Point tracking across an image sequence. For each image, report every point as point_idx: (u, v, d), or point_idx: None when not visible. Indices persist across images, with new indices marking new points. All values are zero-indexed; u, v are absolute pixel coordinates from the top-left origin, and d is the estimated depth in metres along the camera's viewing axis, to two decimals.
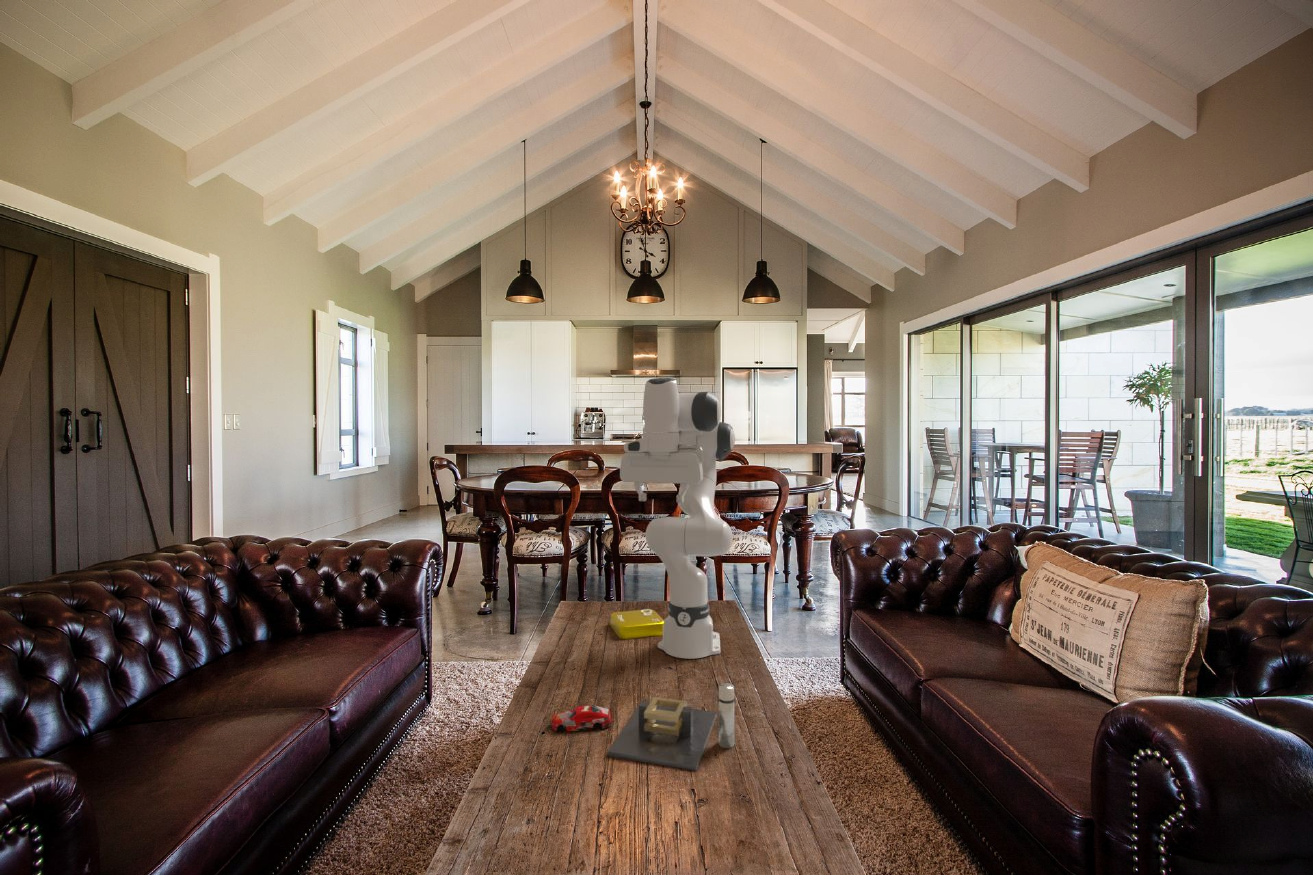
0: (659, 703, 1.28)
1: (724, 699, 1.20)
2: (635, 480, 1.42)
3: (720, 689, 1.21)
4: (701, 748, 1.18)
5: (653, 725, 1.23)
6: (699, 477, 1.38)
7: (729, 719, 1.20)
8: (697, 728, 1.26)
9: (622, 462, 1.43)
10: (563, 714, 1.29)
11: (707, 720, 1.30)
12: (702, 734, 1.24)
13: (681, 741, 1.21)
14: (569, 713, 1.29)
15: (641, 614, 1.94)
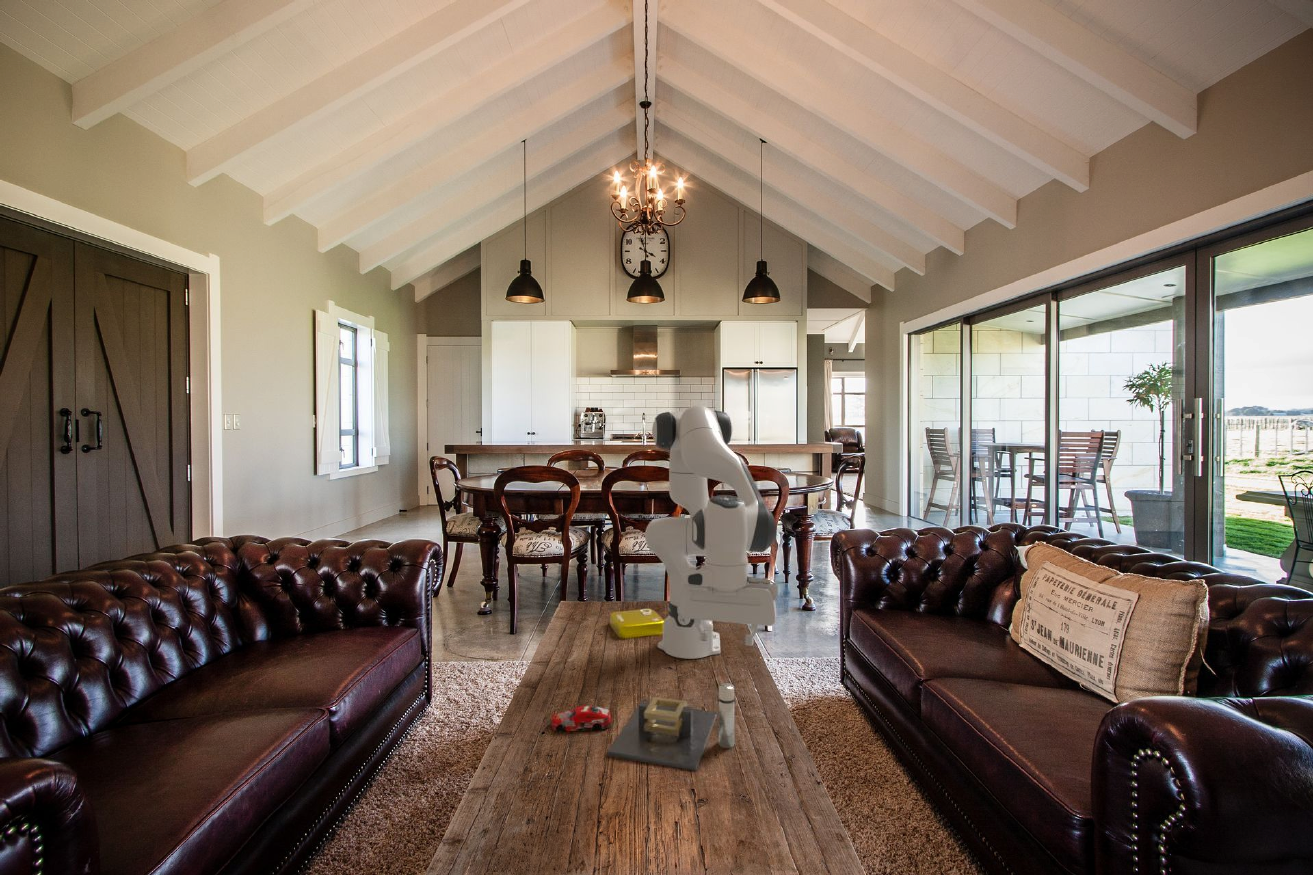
0: (659, 703, 1.28)
1: (724, 699, 1.20)
2: (696, 617, 1.21)
3: (720, 689, 1.21)
4: (701, 748, 1.18)
5: (653, 725, 1.23)
6: (774, 618, 1.17)
7: (729, 719, 1.20)
8: (697, 728, 1.26)
9: (680, 596, 1.22)
10: (563, 714, 1.30)
11: (707, 720, 1.30)
12: (702, 734, 1.24)
13: (681, 741, 1.21)
14: (569, 713, 1.29)
15: (640, 614, 1.94)
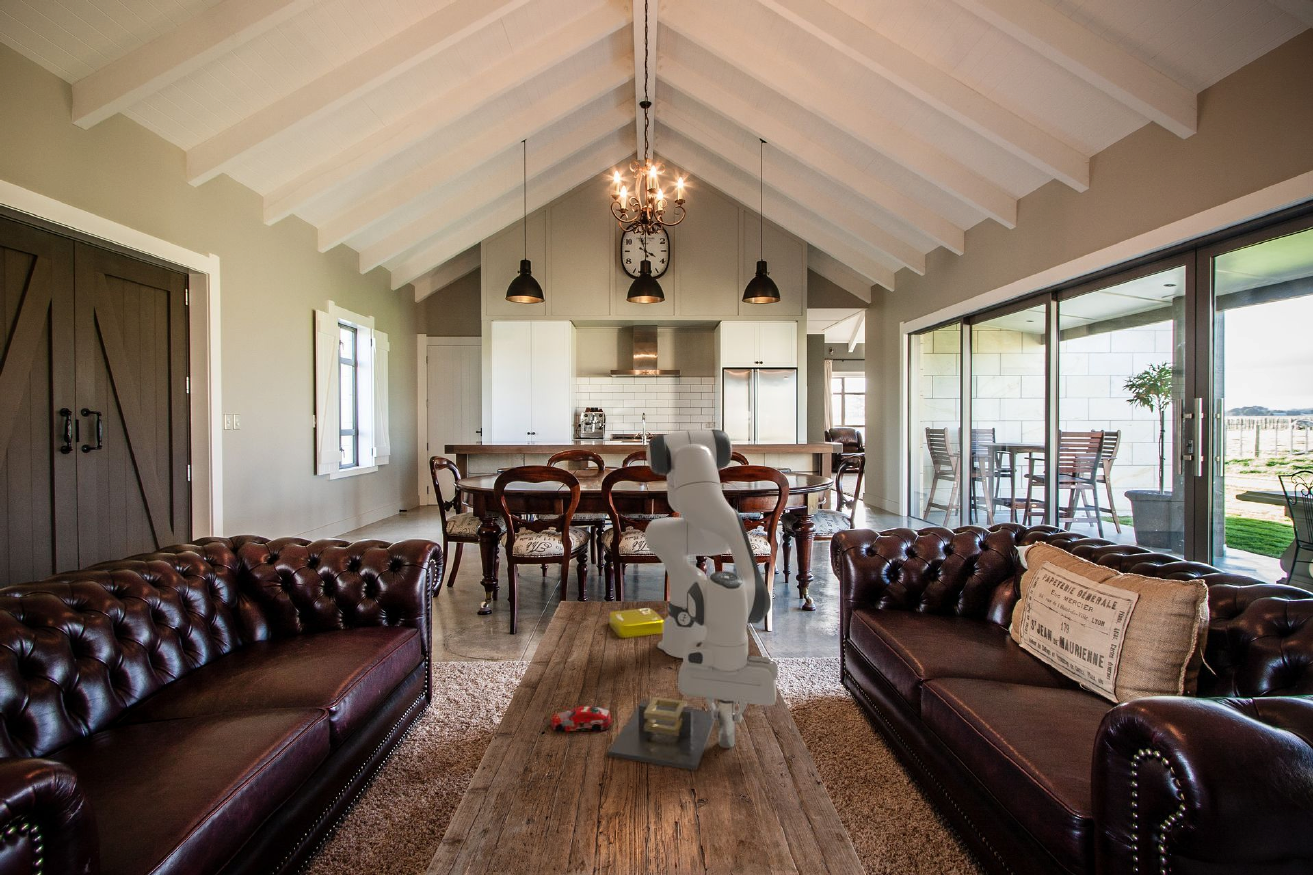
0: (659, 703, 1.28)
1: None
2: (696, 695, 1.22)
3: None
4: (701, 748, 1.18)
5: (653, 725, 1.23)
6: (774, 699, 1.17)
7: (729, 719, 1.20)
8: (697, 728, 1.26)
9: (681, 673, 1.22)
10: (563, 713, 1.30)
11: (707, 720, 1.30)
12: (702, 734, 1.24)
13: (681, 741, 1.21)
14: (569, 713, 1.29)
15: (640, 613, 1.95)
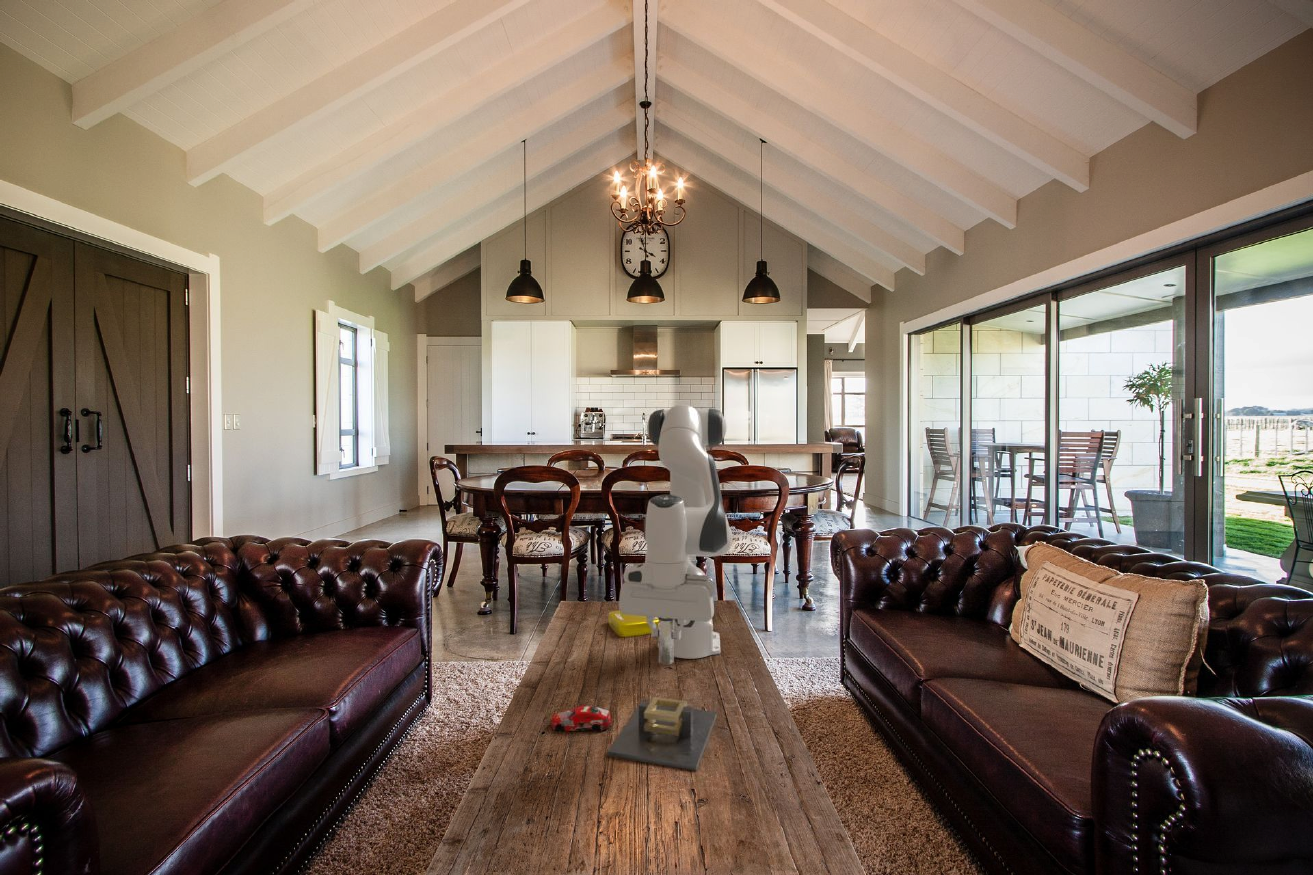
0: (659, 703, 1.28)
1: None
2: (636, 613, 1.25)
3: None
4: (701, 748, 1.18)
5: (653, 725, 1.23)
6: (710, 614, 1.21)
7: (668, 636, 1.23)
8: (697, 728, 1.26)
9: (622, 593, 1.25)
10: (563, 713, 1.30)
11: (707, 720, 1.30)
12: (702, 734, 1.24)
13: (681, 741, 1.21)
14: (569, 713, 1.30)
15: None
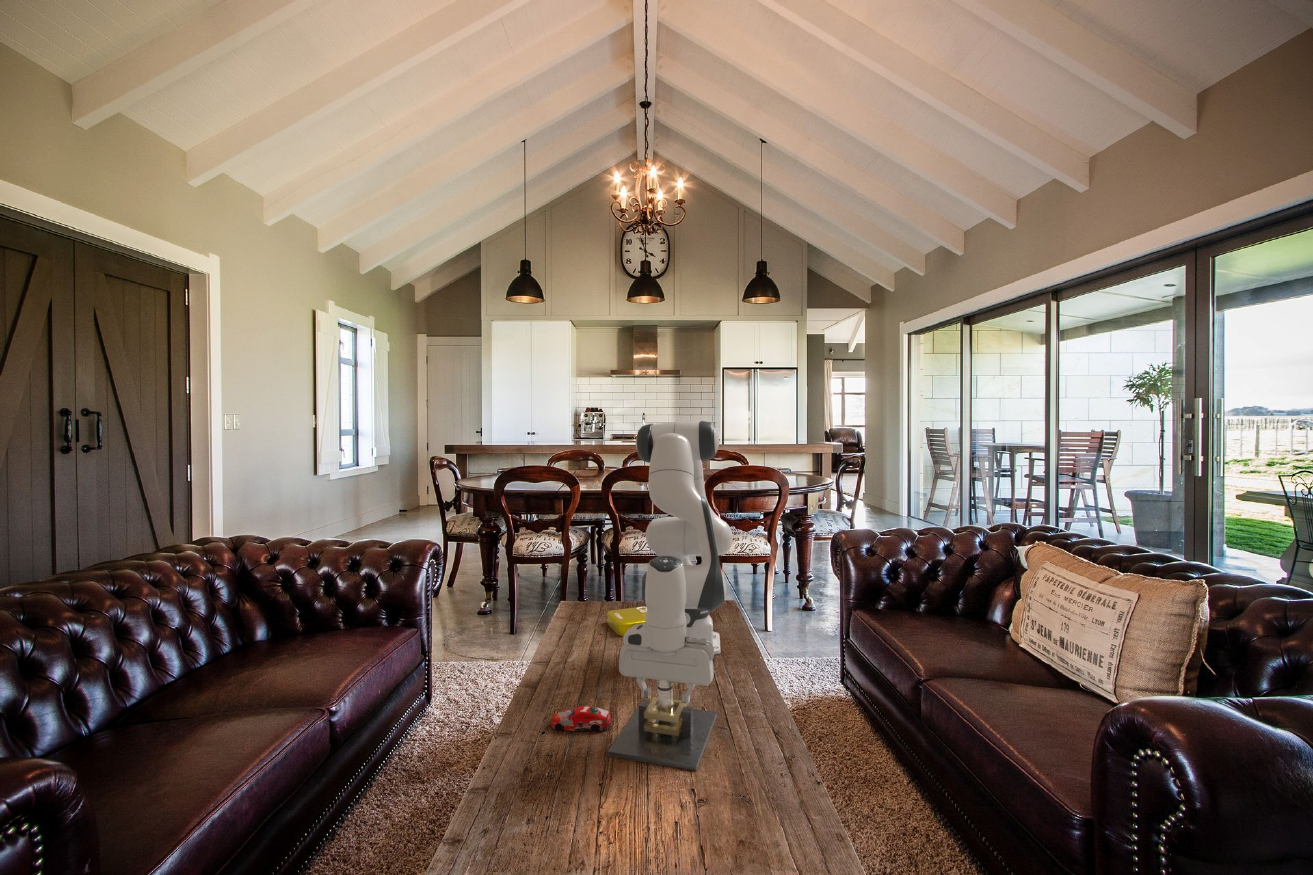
0: None
1: (662, 686, 1.24)
2: (636, 675, 1.25)
3: None
4: (701, 748, 1.18)
5: (653, 725, 1.23)
6: (709, 679, 1.21)
7: (667, 706, 1.24)
8: (697, 728, 1.26)
9: (621, 655, 1.25)
10: (563, 713, 1.30)
11: (707, 720, 1.30)
12: (702, 734, 1.24)
13: (681, 741, 1.21)
14: (569, 712, 1.30)
15: (637, 611, 1.97)
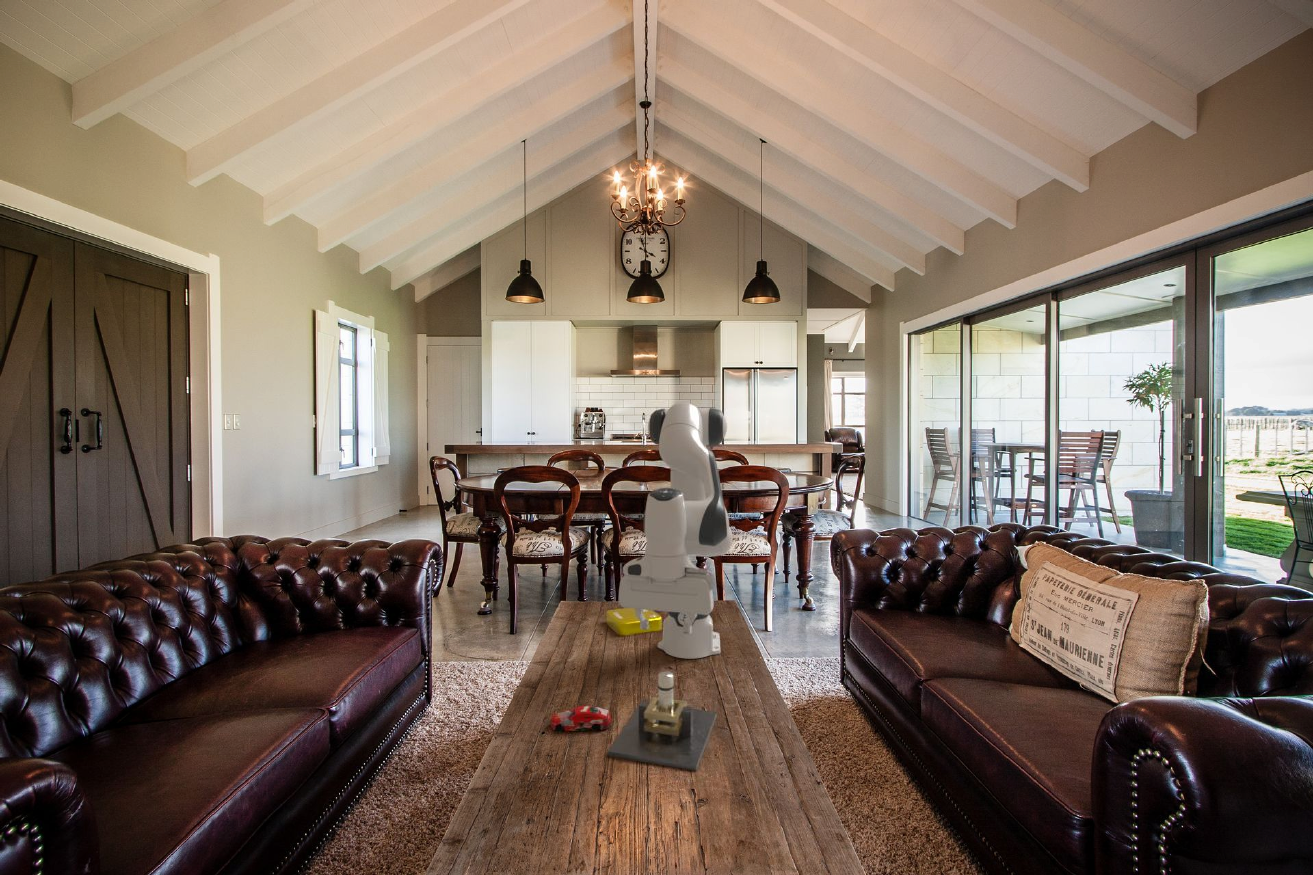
0: None
1: (663, 686, 1.24)
2: (636, 607, 1.25)
3: (659, 677, 1.24)
4: (701, 748, 1.18)
5: (653, 725, 1.23)
6: (709, 608, 1.21)
7: (668, 706, 1.24)
8: (697, 728, 1.26)
9: (621, 586, 1.25)
10: (562, 713, 1.30)
11: (707, 720, 1.30)
12: (702, 734, 1.24)
13: (681, 741, 1.21)
14: (568, 713, 1.30)
15: None
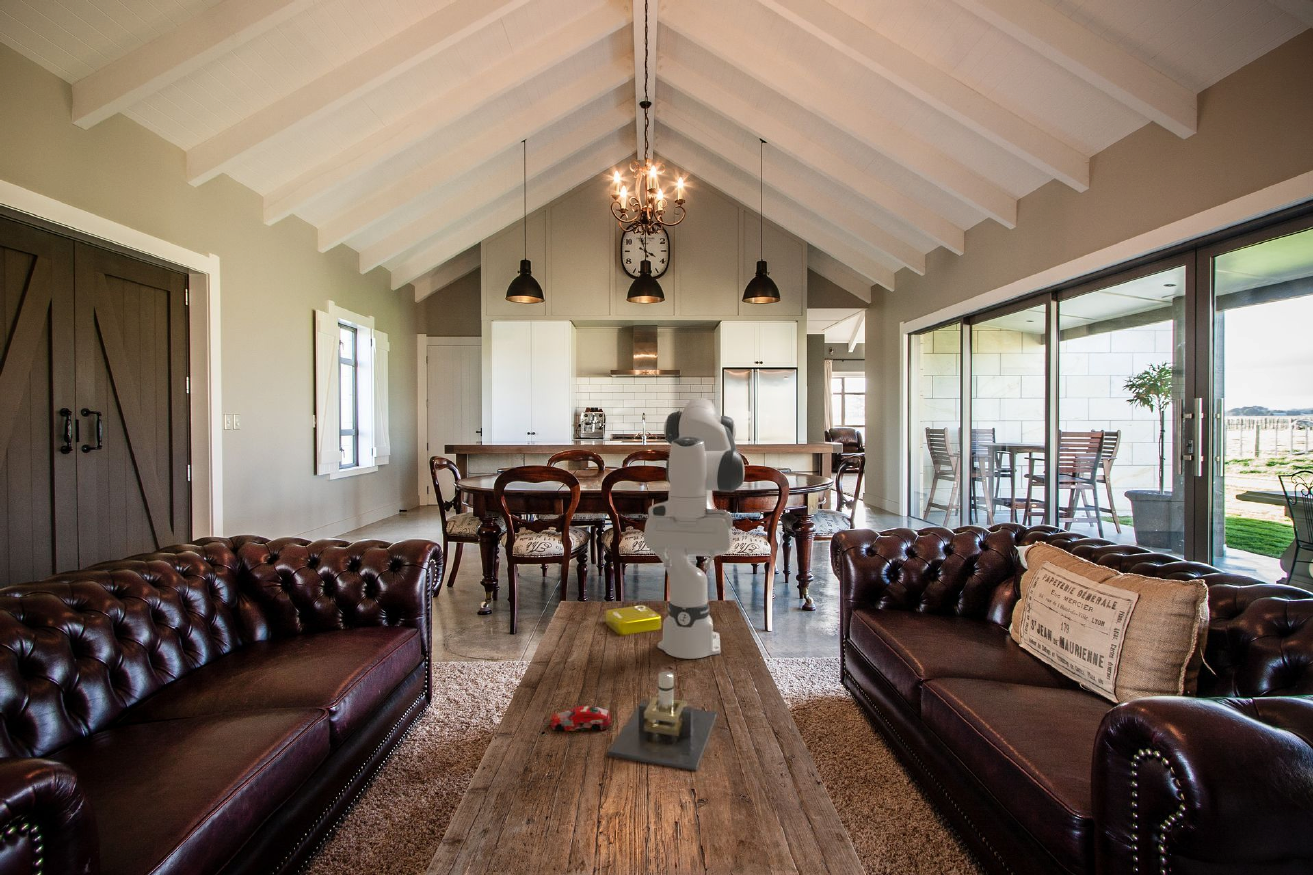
0: None
1: (663, 686, 1.24)
2: (660, 545, 1.36)
3: (659, 677, 1.24)
4: (701, 748, 1.18)
5: (653, 725, 1.23)
6: (728, 544, 1.31)
7: (668, 706, 1.24)
8: (697, 728, 1.26)
9: (647, 526, 1.36)
10: (562, 713, 1.30)
11: (707, 720, 1.30)
12: (702, 734, 1.24)
13: (681, 741, 1.21)
14: (568, 713, 1.30)
15: (636, 610, 1.98)
